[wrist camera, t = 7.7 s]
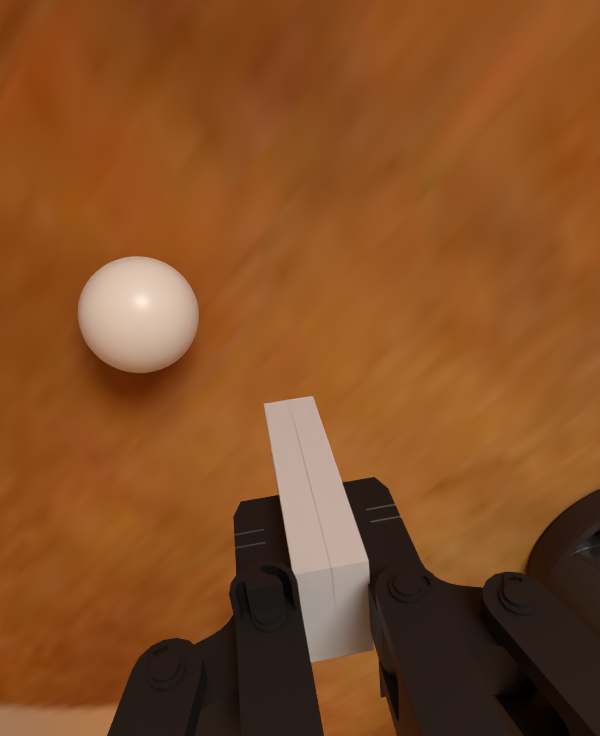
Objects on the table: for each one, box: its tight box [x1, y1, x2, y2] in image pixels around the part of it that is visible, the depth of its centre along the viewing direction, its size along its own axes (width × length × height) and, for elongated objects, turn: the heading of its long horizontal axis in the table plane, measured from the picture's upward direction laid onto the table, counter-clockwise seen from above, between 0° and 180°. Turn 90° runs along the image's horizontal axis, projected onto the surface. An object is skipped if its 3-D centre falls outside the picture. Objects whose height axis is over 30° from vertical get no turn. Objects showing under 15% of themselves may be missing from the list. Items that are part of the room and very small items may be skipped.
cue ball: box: [78, 256, 199, 373], centre depth 25 cm, size 6×6×6 cm
